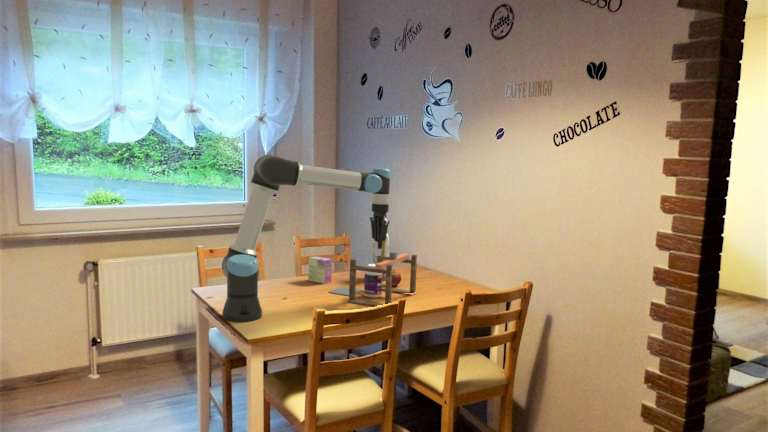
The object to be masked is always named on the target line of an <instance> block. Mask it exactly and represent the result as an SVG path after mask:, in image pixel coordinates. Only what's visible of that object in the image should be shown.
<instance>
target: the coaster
mask: <svg viewBox="0 0 768 432" xmlns="http://www.w3.org/2000/svg"><path fill="white" fill-rule="evenodd" d="M362 292H364V289H359V288H356V290H355V295H357V294H360V293H362ZM328 293H330V294H334V295H340V296H347V297H349V287H347V286H340V287H337V288H334V289H331V290H329V291H328Z"/></svg>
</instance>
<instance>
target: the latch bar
mask: <svg viewBox="0 0 768 432" xmlns="http://www.w3.org/2000/svg"><path fill="white" fill-rule="evenodd" d="M410 256H411V255H410V254H409V253H402V254H398V252H397V251H389V257H390V259H388V260H385V261H383V262H380V263H377V264H375V269H380V270H382V269H385V268H386V265H387V264H390V265H392V266H395V265H397V264H399V263H403V262H402V261H405V260H407V259H409V260H411V257H410Z"/></svg>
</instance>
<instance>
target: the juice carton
mask: <svg viewBox="0 0 768 432" xmlns="http://www.w3.org/2000/svg"><path fill="white" fill-rule="evenodd" d="M372 247H373V250H372V264H377V257H378V256H375V240H374V239H373V246H372ZM382 251H383V256H386V257H390V237H389V234H388V233H387V234H386V240H385V241H382ZM383 261H385V260H383ZM384 270H386V268H385V269H384ZM385 276H386V274H382V281H386V280H385Z"/></svg>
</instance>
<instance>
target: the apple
mask: <svg viewBox="0 0 768 432" xmlns="http://www.w3.org/2000/svg"><path fill="white" fill-rule="evenodd" d="M401 280H402V275H401V273H400V272H398V271H395V270H392V287H395V286H396V285H397V286H399V284H400V283H401ZM384 281H386V276H385V280H384ZM397 286H396V287H397Z"/></svg>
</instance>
